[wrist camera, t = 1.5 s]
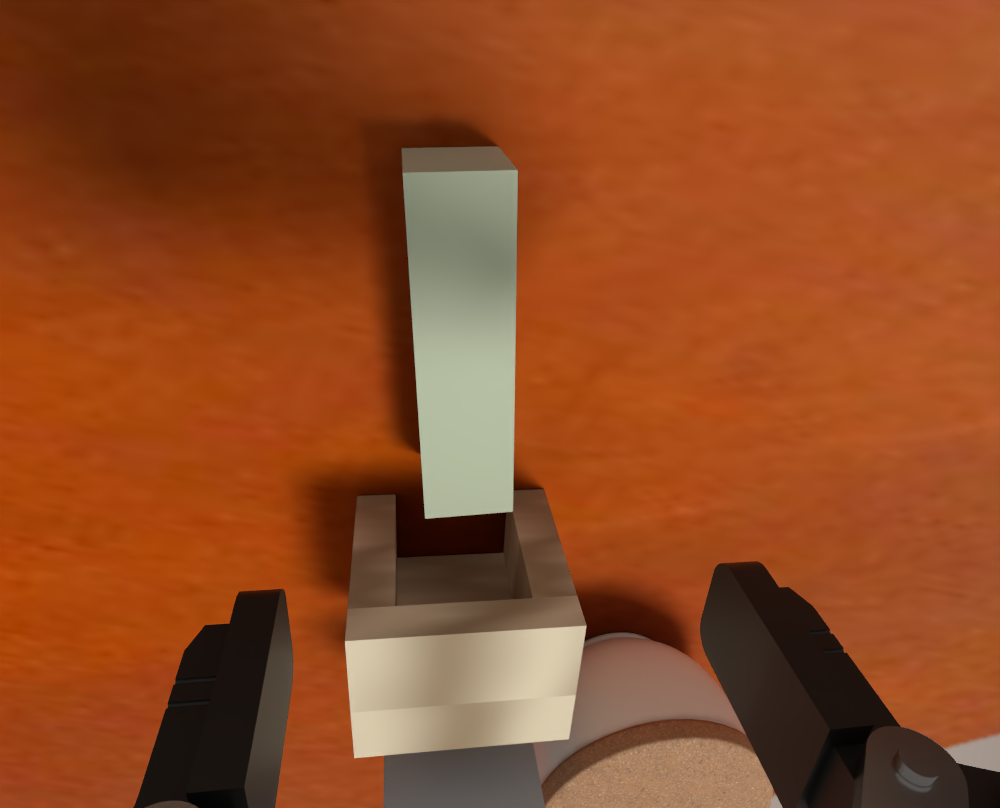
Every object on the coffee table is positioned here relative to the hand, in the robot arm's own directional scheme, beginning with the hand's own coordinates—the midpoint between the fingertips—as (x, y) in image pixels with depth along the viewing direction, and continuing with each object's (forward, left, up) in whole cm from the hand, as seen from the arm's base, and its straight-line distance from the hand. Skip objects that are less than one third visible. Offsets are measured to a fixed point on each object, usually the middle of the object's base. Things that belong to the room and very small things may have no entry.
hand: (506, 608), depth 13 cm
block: (0, +11, -15) cm, 18 cm away
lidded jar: (-9, +20, -15) cm, 27 cm away
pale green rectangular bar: (0, 0, -15) cm, 15 cm away
